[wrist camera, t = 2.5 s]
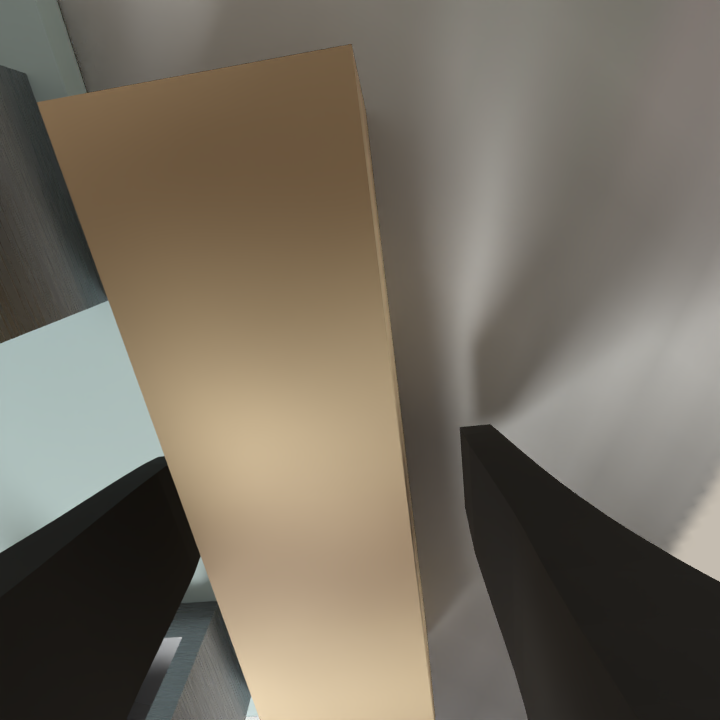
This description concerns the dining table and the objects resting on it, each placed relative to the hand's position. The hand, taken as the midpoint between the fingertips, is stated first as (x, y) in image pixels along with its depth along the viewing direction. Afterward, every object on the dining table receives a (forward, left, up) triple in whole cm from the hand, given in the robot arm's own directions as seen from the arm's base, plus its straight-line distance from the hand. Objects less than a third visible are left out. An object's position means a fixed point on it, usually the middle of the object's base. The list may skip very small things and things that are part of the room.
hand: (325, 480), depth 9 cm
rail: (0, 0, -2) cm, 2 cm away
